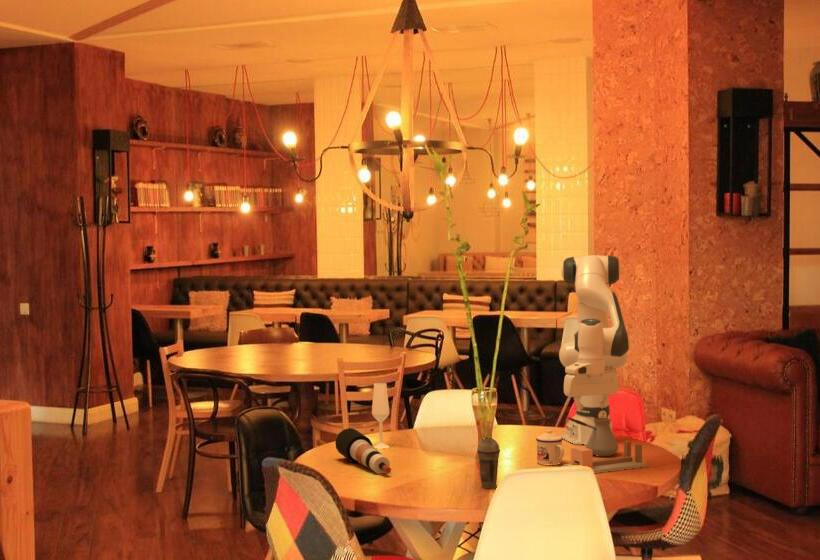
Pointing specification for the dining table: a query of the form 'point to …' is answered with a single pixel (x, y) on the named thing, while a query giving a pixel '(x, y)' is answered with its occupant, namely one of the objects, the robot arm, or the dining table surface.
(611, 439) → the coffee pot
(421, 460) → the dining table surface
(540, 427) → the dining table surface
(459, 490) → the dining table surface
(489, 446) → the beverage cup
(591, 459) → the block
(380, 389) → the champagne flute
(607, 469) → the rail board
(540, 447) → the teacup with lid
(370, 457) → the cable
